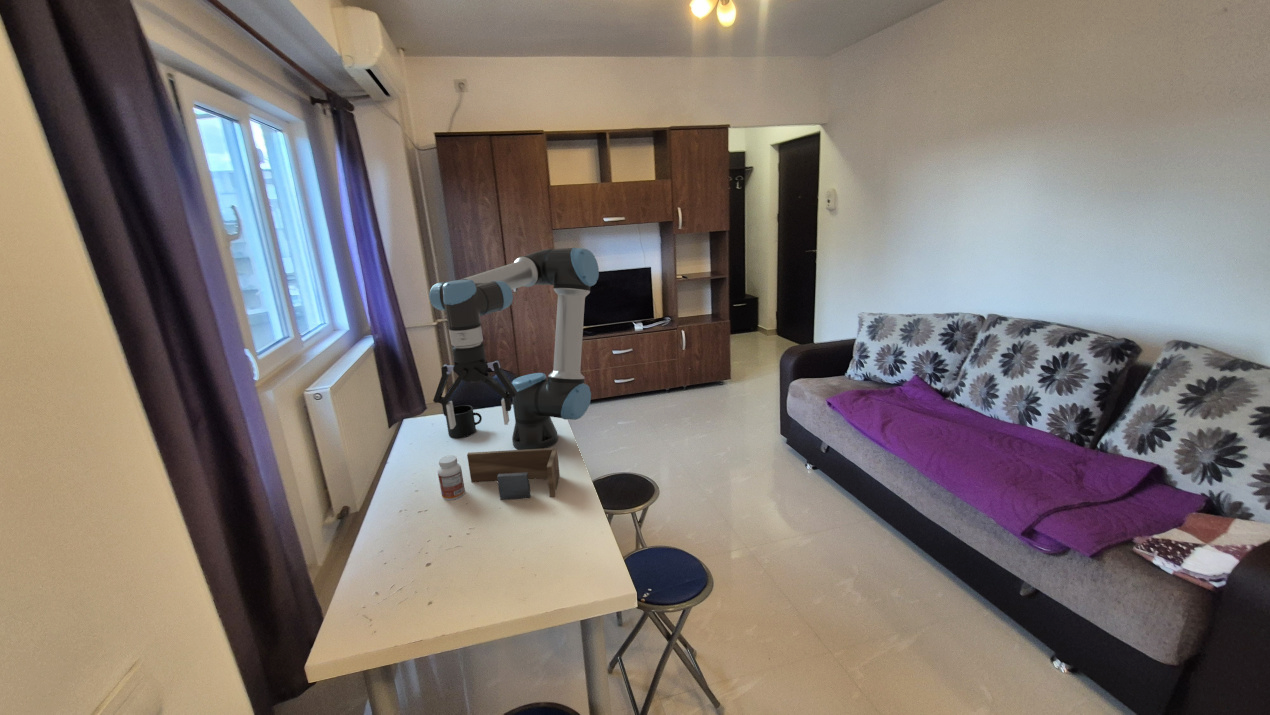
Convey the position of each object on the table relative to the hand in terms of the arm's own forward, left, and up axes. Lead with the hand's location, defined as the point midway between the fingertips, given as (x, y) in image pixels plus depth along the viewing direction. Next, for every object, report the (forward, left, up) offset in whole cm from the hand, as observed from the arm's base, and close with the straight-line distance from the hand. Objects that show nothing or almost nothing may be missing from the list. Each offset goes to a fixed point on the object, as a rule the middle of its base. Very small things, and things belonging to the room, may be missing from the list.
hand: (480, 425), depth 133 cm
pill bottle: (-6, -12, -23) cm, 27 cm away
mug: (-50, -22, -23) cm, 60 cm away
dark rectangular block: (-3, +6, -23) cm, 24 cm away
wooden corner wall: (-8, +4, -23) cm, 25 cm away
